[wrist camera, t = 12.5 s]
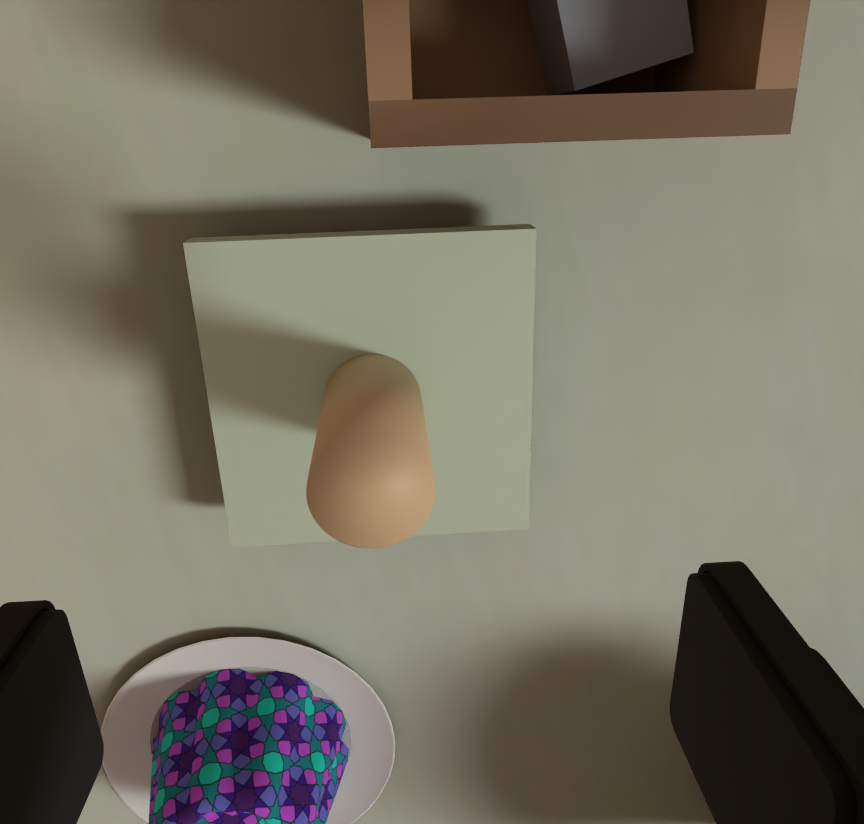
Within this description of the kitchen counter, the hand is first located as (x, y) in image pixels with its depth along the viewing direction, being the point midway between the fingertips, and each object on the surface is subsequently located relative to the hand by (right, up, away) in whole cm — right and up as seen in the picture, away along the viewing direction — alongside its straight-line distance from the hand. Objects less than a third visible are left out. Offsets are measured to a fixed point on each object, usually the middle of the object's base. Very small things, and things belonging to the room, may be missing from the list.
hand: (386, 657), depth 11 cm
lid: (-1, +5, +13) cm, 14 cm away
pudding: (-7, -10, +20) cm, 23 cm away
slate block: (+5, +15, +9) cm, 18 cm away
